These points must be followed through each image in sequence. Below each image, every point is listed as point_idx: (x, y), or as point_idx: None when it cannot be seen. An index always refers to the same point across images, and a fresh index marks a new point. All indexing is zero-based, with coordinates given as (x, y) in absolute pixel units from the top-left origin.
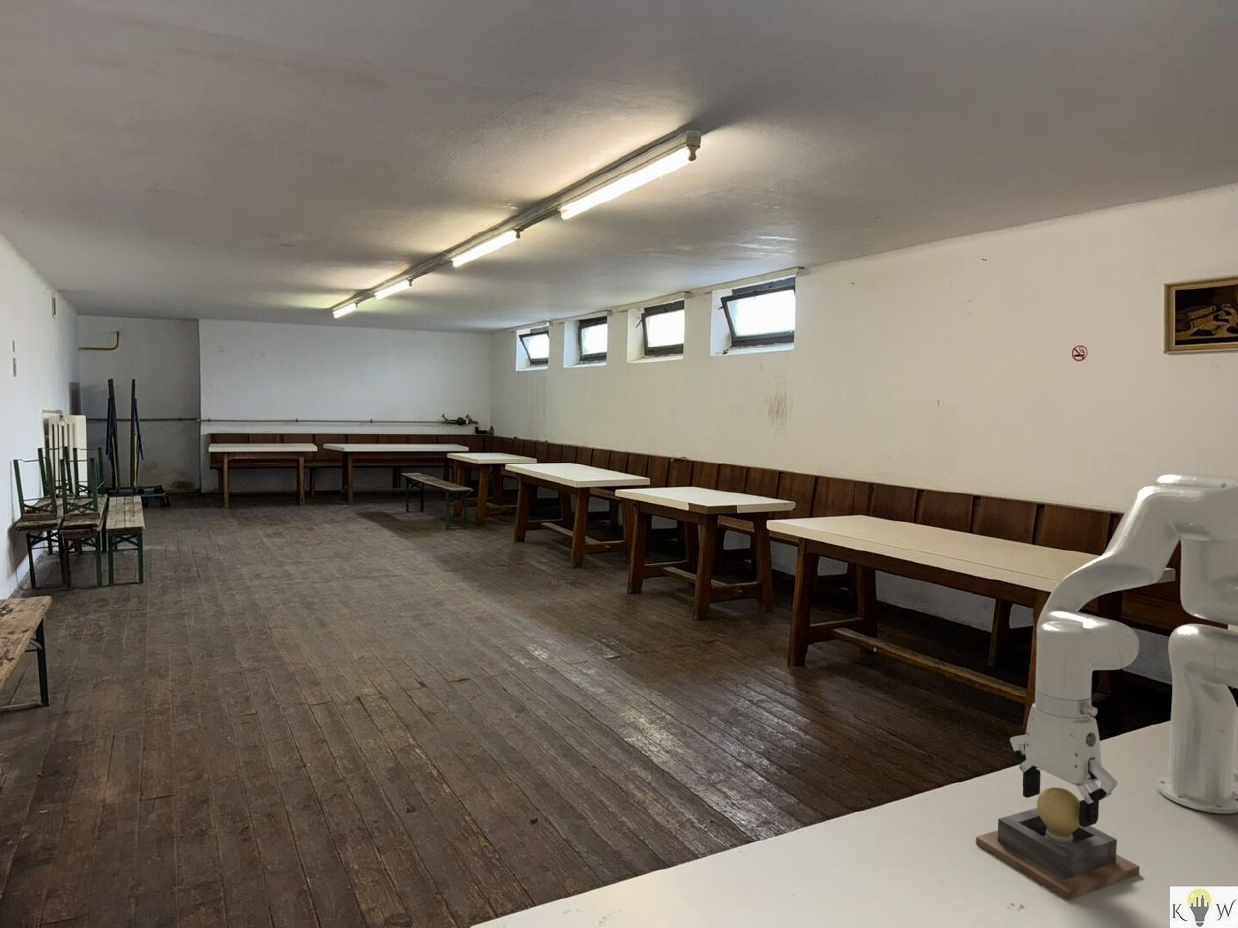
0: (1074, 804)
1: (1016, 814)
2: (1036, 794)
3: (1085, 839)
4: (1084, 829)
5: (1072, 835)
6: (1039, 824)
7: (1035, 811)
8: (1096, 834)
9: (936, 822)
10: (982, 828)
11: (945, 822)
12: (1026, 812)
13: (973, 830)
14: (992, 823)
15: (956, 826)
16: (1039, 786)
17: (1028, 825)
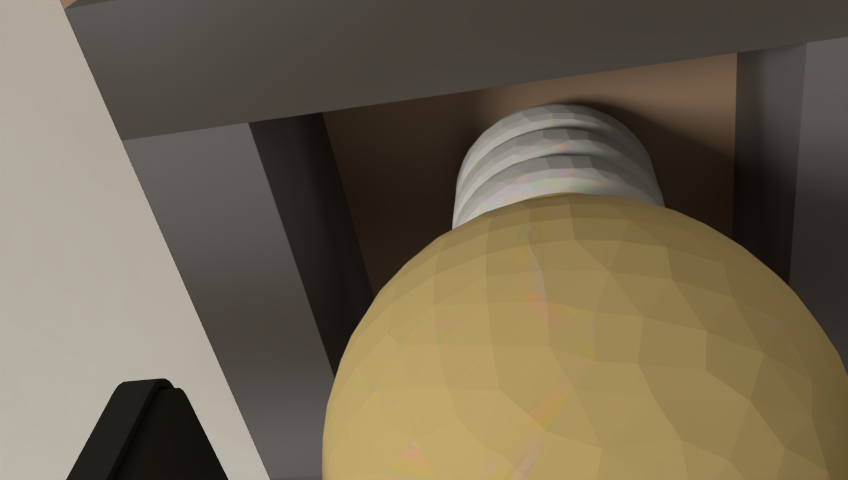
0: None
1: (249, 409)
2: (199, 428)
3: (803, 206)
4: (653, 56)
5: (641, 197)
6: (314, 218)
7: (212, 243)
8: (791, 7)
9: (52, 476)
10: (115, 320)
11: (49, 443)
12: (226, 327)
13: (138, 375)
14: (49, 229)
15: (93, 422)
16: (145, 468)
17: (347, 343)
